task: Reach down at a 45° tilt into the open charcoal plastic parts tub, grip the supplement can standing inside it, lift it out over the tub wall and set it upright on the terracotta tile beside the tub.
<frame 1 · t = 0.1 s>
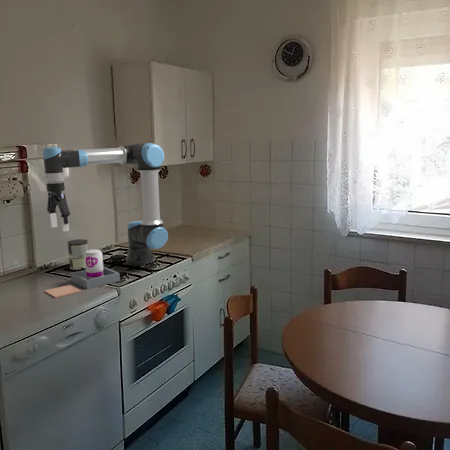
hand: (60, 229, 216), 28 cm above the table, tool pointing down, fingers open, 13 cm apart
terracotta tile: (63, 291, 215), on the table
coffee can: (79, 267, 256), on the table
parts tub: (95, 281, 230), on the table
supplement can: (95, 281, 230), resting in parts tub
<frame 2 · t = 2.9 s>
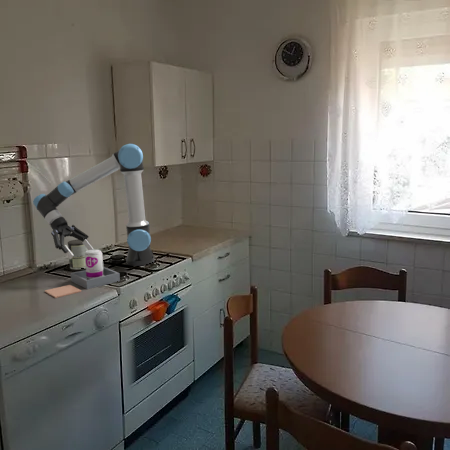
hand: (82, 253, 230), 13 cm above the table, tool tilted 45°, fingers open, 13 cm apart
nothing on the table moved.
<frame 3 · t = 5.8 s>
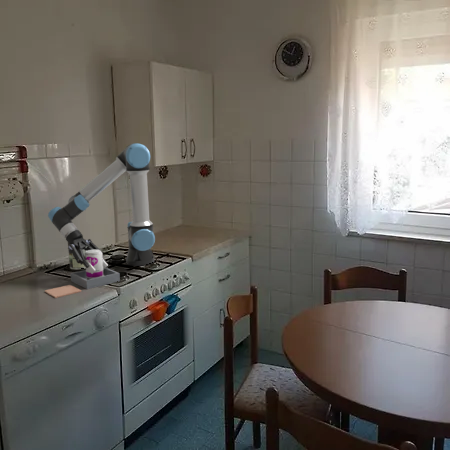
hand: (100, 269, 227), 6 cm above the table, tool tilted 45°, fingers closed on supplement can, 8 cm apart
supplement can: (95, 281, 230), resting in parts tub, touching gripper
everything else where it was.
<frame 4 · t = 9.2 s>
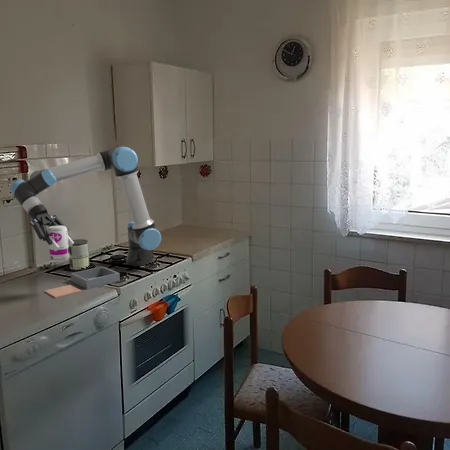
hand: (64, 246, 210), 21 cm above the table, tool tilted 45°, fingers closed on supplement can, 8 cm apart
supplement can: (60, 260, 213), point 15 cm above the table, touching gripper
everything else where it was.
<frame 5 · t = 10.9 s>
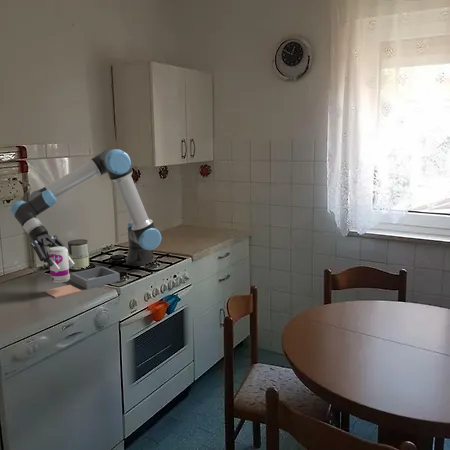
hand: (65, 268, 212), 12 cm above the table, tool tilted 45°, fingers closed on supplement can, 8 cm apart
supplement can: (60, 280, 214), point 5 cm above the table, touching gripper
everything else where it was.
when the fingers open (8 cm above the table, at t = 12.5 s): supplement can drops 1 cm, resting on terracotta tile.
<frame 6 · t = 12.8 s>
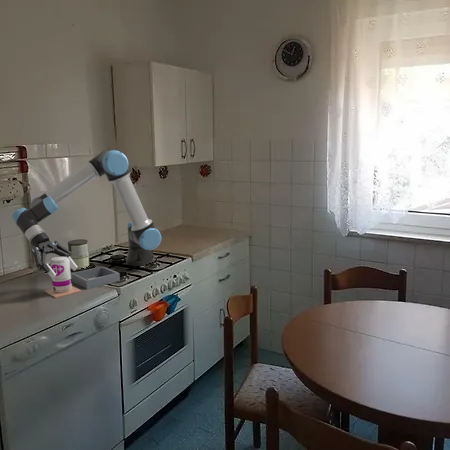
hand: (65, 272, 213), 9 cm above the table, tool tilted 45°, fingers open, 12 cm apart
supplement can: (62, 290, 215), resting on terracotta tile
everything else where it was.
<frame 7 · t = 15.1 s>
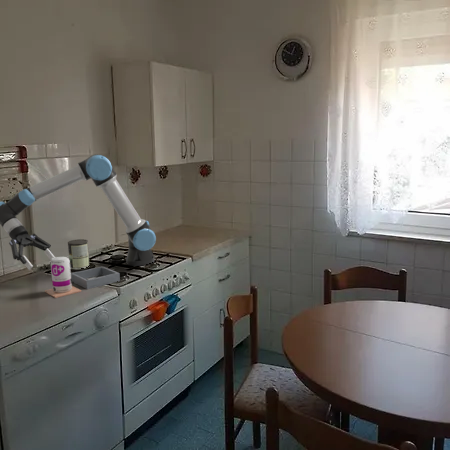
hand: (43, 264, 218), 12 cm above the table, tool tilted 45°, fingers open, 13 cm apart
nothing on the table moved.
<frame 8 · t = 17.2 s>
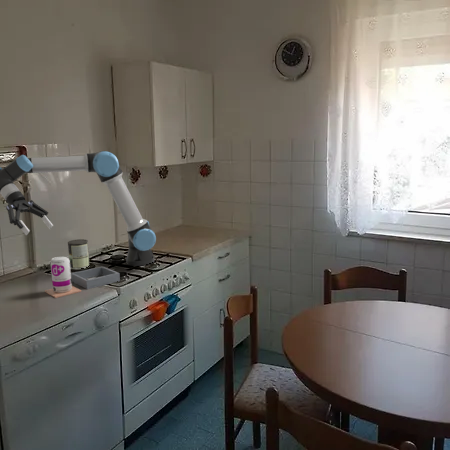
hand: (40, 230, 215), 28 cm above the table, tool tilted 45°, fingers open, 13 cm apart
nothing on the table moved.
at the end: supplement can inside the target area on the terracotta tile (0.1 cm from its centre), point 0.4 cm above the terracotta tile's base; supplement can tilted 0°; the gripper is holding nothing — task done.
